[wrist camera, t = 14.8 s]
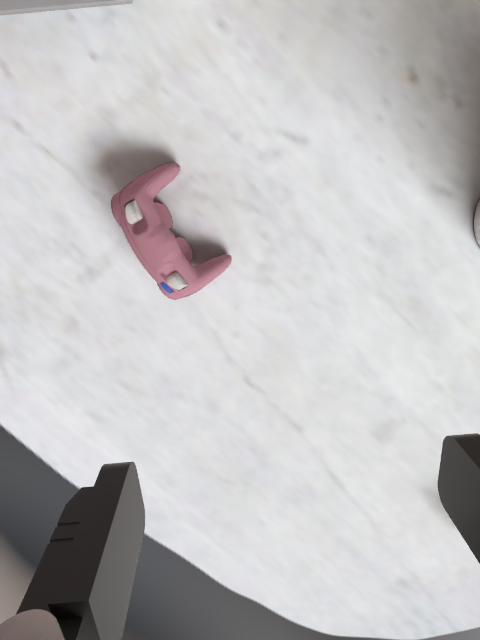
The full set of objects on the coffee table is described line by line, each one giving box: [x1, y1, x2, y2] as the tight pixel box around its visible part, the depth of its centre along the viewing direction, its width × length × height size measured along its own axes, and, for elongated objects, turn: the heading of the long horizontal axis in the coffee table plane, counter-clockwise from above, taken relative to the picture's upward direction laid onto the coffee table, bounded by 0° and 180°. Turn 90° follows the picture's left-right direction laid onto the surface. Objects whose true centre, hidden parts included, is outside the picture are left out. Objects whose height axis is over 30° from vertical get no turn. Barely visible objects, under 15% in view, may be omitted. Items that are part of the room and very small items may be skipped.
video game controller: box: [111, 163, 231, 300], centre depth 33 cm, size 10×5×7 cm, turn 29°
